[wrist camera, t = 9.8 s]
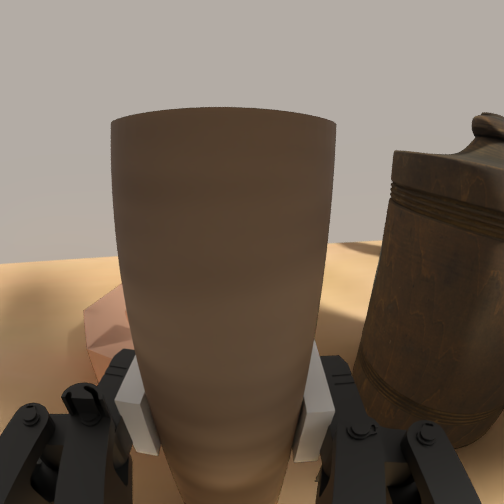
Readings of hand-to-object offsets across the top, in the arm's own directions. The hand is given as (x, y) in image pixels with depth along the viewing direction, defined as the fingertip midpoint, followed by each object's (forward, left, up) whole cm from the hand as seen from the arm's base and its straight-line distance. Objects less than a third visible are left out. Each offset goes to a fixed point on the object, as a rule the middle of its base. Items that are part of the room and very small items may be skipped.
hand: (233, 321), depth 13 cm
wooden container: (-5, -16, -10) cm, 20 cm away
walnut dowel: (-5, +3, -10) cm, 11 cm away
